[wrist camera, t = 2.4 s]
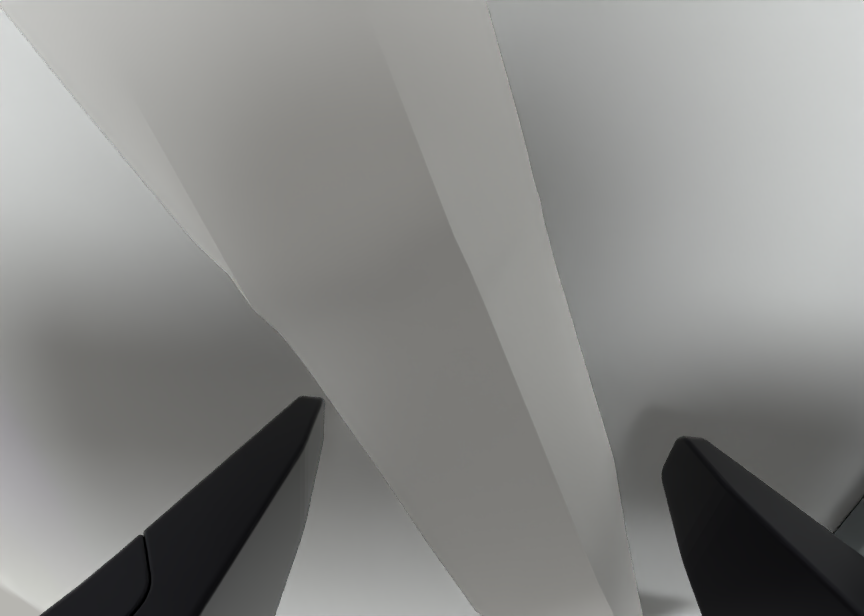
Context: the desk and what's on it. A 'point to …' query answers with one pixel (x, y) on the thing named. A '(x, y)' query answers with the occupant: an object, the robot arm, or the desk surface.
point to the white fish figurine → (379, 255)
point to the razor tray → (853, 529)
